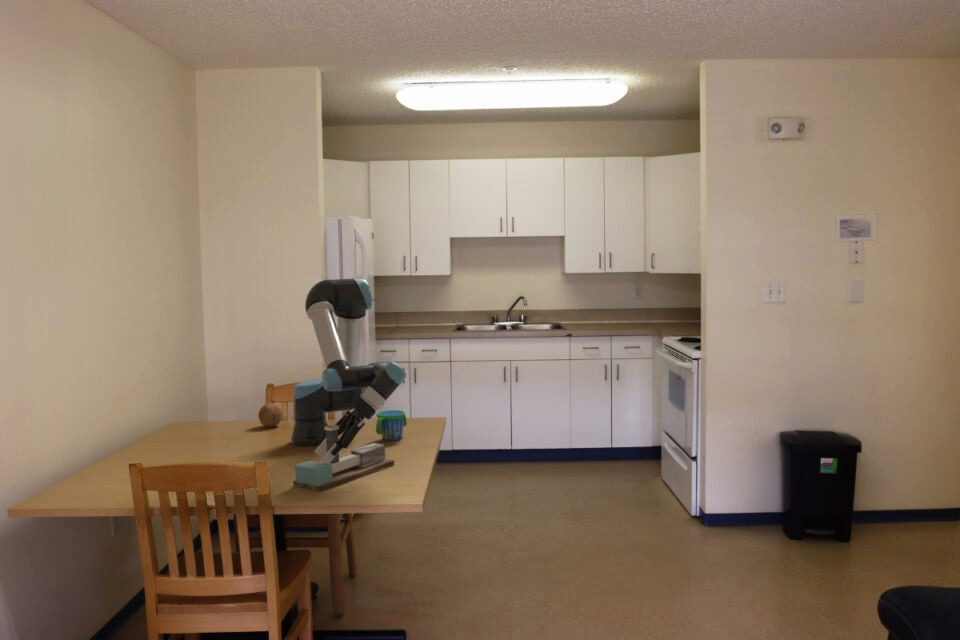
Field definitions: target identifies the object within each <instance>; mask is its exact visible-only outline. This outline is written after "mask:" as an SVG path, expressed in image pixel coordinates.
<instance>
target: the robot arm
mask: <svg viewBox="0 0 960 640" xmlns="http://www.w3.org/2000/svg"><path fill="white" fill-rule="evenodd" d="M372 306H373V297H372V291H371V288H370V284H369V283H368V281H367V280H366V279H364V278H355V277H353V278H338V279H336V278H335V279H324V280H321V281H318V282H317V283H315V284H314V285H313V286H312V287H311V288H310V290H309V291H308V293H307V296H306V299H305V305H304V307H305V312H306V315H307V318H308V319H310V321H311V322H312V326H313V329H314V333H315V336H316V339H317V343H318V345H319V348H320V352H321V355H322V359H323V363H324V365H325V369H324V370H323V371H322V375H321V378H316V379H315V378H312V379H308V380H303V381H301V382H299V383H297V384H295V385H294V386H293V406H294V426H293V431H292V435H291V436H290V441H291V442H290V443H291V444H292V445H293V446H300V447H301V446H302V447H311V446H317V447H316V448H315V450H314V451H313V452H314V453H315V454H316V455H317V456H318V457H319V458H321V457H322V456H323V457H322V458H321V459H320V460H321V461H322V462H323V463H326V464H329V463H330V462H331V461H332V460H333V459H334V457H335V456H336V455H337V454H338V453H339V454H340V452H341V451H342V450H343V449H347V448H349V446H350V445H351V443H352V441H353V440H354V439H355V438H356V436H357V435H358V433H359V432H360V431H361V429H362V428H363V427H364V426H365V425H366V423H365V422H364V420H365V419H367V420H370V419H372V418H373V417H374V415H375V414H376V410H379V409H380V408H381V407H382V406H384V405H385V402H386V401H387V400H388V398H390V396H391V395H392V394H393V393H394V392H395V391H396V390H397V389H398V387H400V385H402V384H403V383H402V382H403V381H404V380H405V379H406V377H407V373H406V371H405V370H404V369H403V368H402V367H401V366H399V365H398V364H397V363H396V362H394V361H391V360H390V361H388V363H387V364H385V365H383V364H382V363H379V362H370V363H368V364H367V365H359V355H360V343H361V340H360V339H361V328H362V319H364V318H365V317H366V314H367V311H369V310H370V309H372ZM334 316H335V317H337V323H336V320H335V317H334ZM342 411H344V412H345V411H346V412H345V414H344V415H343V416H342V417H341V418H340V419H339V420H338V421H337V422H336V423H335V424H334V425H336V426H339V429H338V437H339V438H338V441H335V444H334V445H333V446H332V447H331V448H330V450H329V451H328V452H327V442H326V430H325V429H324V427H326V426H329V424H328V421H327V415H326V414H327V413H333V412H336V413H337V412H342Z"/></svg>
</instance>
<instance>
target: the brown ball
mask: <svg viewBox="0 0 960 640" xmlns="http://www.w3.org/2000/svg"><path fill="white" fill-rule="evenodd" d="M258 419H259V422H260V424H261V425H263V426H264V427H265V428H273V427H277V426H278V425H279V424H280V423H281V422H282V420H283V410H282V408H281V407H280V405H277V403H275V402H270V403H266V404H264V405H263V406H261V408H259V411H258Z"/></svg>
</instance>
